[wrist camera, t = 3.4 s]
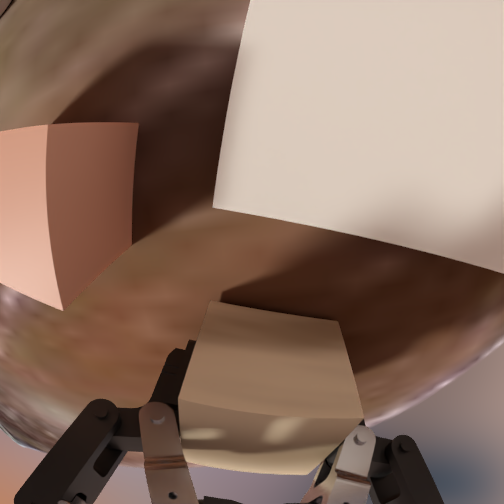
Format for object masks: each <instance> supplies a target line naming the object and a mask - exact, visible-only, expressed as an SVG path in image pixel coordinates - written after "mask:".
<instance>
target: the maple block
mask: <svg viewBox="0 0 504 504" xmlns="http://www.w3.org/2000/svg"><path fill="white" fill-rule="evenodd" d="M178 408H179V423H180V436H181V446H182V450H183V454H184V457H185V460H186V462H190V463H194V464H199V465H204V466H210V467H215V468H221V469H228V470H235V471H243V472H253V473H265V474H284V475H285V474H287V475H307V474H308V473H309V472H311V471H312V470H313V469H314V468H315V467H316V466H317V465H318V464H320V463H321V462H322V461H323V460H324V459H325V458H326V457H327V456H328V455H329V454H330V453H331V452H332V451H333V450H334V449H335V448H337V447H338V446H339V444H340V443H341V442H342V441H343V440H344V439H345V438H346V437H347V436H348V435H349V434H350V433H351V432H352V431H353V430H354V429H355V428H356V427H357V425H358V424H359V423H360V422H361V421H362V420H363V419H364V415H363V411H362V407H361V403H360V399H359V395H358V391H357V387H356V383H355V379H354V375H353V372H352V368H351V364H350V361H349V357H348V353H347V350H346V346H345V343H344V340H343V336H342V333H341V329H340V326H339V323H338V321H332V320H325V319H317V318H310V317H303V316H297V315H290V314H284V313H277V312H271V311H265V310H259V309H254V308H248V307H242V306H237V305H231V304H226V303H221V302H216V301H211V300H210V303H209V306H208V309H207V311H206V314H205V317H204V320H203V323H202V326H201V329H200V332H199V335H198V338H197V341H196V344H195V347H194V350H193V353H192V356H191V360H190V363H189V366H188V369H187V372H186V375H185V378H184V381H183V384H182V388H181V391H180V394H179V397H178Z"/></svg>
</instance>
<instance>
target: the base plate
mask: <svg viewBox="0 0 504 504" xmlns="http://www.w3.org/2000/svg"><path fill="white" fill-rule="evenodd" d="M213 208H219V209H224V210H230V211H236V212H242V213H247V214H253V215H258V216H264V217H269V218H274V219H280V220H285V221H290V222H295V223H300V224H305V225H310V226H315V227H320V228H324V229H329V230H334V231H338V232H343V233H348V234H352V235H357V236H361V237H366V238H370V239H374V240H379V241H383V242H387V243H391V244H395V245H400V246H404V247H408V248H412V249H416V250H420V251H424V252H428V253H432V254H435V255H439V256H443V257H447V258H451V259H454V260H458V261H462V262H465V263H469V264H472V265H476V266H479V267H483V268H486V269H490V270H493V271H497V272H500V273H503V274H504V0H251V1H250V5H249V9H248V13H247V17H246V21H245V26H244V30H243V35H242V39H241V44H240V48H239V53H238V58H237V63H236V67H235V72H234V78H233V83H232V88H231V93H230V99H229V104H228V110H227V115H226V121H225V127H224V133H223V139H222V145H221V151H220V158H219V164H218V171H217V178H216V185H215V192H214V200H213Z"/></svg>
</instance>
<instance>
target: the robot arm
mask: <svg viewBox="0 0 504 504" xmlns="http://www.w3.org/2000/svg"><path fill="white" fill-rule="evenodd" d="M195 344H196V341H194V340H189V341H188V344H187V347H186V350H182V349H178V348H176V349H174V350H173V351H172V352H171V353H170V354H169V355H168V357H167V359H166V362H165V365H164V367H163V369H162V373H161V374H160V377H159V379H158V381H157V384H156V386H155V389H154V392H153V394H152V397H151V399H150V400H149V402H148V403H147V404H145V405H144V406H142V407H139V408H117V407H116V406H115V405H114V404H113V403H112V402H111V401H109V400H106V399H96V400H93V401H91V402H90V403H89V404H88V405H87V406H86V408H85V409H84V410H83V411H82V412H81V413H80V415H79V416H78V417H77V418H76V419H75V421H74V422H73V423H72V424H71V426H70V427H69V428H68V429H67V430H66V432H65V433H64V434H63V435H62V437H61V438H60V439H59V440H58V441H57V443H56V444H55V445H54V446H53V448H52V449H51V450H50V451H49V453H48V454H47V455H46V456H45V458H44V459H43V460H42V461H41V463H40V464H39V465H38V467H37V468H36V469H35V470H34V472H33V473H32V474H31V475H30V477H29V478H28V479H27V481H26V482H25V483H24V485H23V486H22V487H21V488H20V490H19V491H18V492H17V494H16V495H15V498H14V504H93V503H94V502H95V500H96V499H97V497H98V495H99V494H100V492H101V491H102V489H103V488H104V486H105V485H106V483H107V482H108V480H109V479H110V477H111V476H112V474H113V473H114V471H115V470H116V468H117V467H118V465H119V464H120V462H121V461H122V459H123V457H124V456H125V454H126V453H127V451H136V452H143V453H144V459H145V462H144V468H145V474H146V479H147V484H148V489H149V493H150V498H151V502H152V504H242V503H239V502H236V501H233V500H227V499H220V498H214V497H208V496H204V499H203V500H198V499H197V496H196V493H195V490H194V487H193V483H192V480H191V476H190V473H189V469H188V466H187V463H186V460H185V457H184V454H183V450H182V446H181V442H180V423H179V408H178V397H179V394H180V391H181V388H182V384H183V381H184V378H185V375H186V372H187V369H188V366H189V363H190V360H191V356H192V353H193V350H194V347H195ZM368 494H370V497H371V500H372V502H373V504H444V502H443V500H442V498H441V496H440V493H439V491H438V489H437V487H436V485H435V482H434V480H433V478H432V476H431V474H430V472H429V470H428V467H427V465H426V463H425V461H424V459H423V457H422V455H421V453H420V451H419V449H418V447H417V445H416V443H415V441H414V440H413V439H412V438H411V437H409V436H406V435H399V436H397V437H396V438H394V439H393V440H390V439H385V438H380V437H377V436H375V435H374V433H373V431H372V430H371V429H369V428H368V427H366V426H365V422H364V419H363V420H362V421H361V422H360V423H359V424H358V425H357V427H356V428H355V429H354V430H353V431H352V432H351V433H350V434H349V435H348V436H347V437H346V438H345V439H344V440H343V441H342V442H341V443H340V444H339V446H338V447H337V448H335V449H334V450H333V451H332V452H331V453H330V454H329V455H328V456H327V457H326V458H325V459H324V460H323V461H322V462H321V464H320V466H319V468H318V471H317V473H316V476H315V478H314V480H313V482H312V485H311V487H310V489H309V490H308V492H307V493H306V494H305V495H304V497H303V498H302V500H301V502H300V503H293V504H366V501H367V497H368ZM286 504H290V503H286ZM291 504H292V503H291Z"/></svg>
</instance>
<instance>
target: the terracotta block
mask: <svg viewBox="0 0 504 504" xmlns="http://www.w3.org/2000/svg"><path fill="white" fill-rule="evenodd" d="M138 127H139V123H123V122H88V123H63V124H49V125H40V126H32V127H25V128H18V129H12V130H6V131H1V132H0V283H2V284H4V285H6V286H8V287H10V288H12V289H14V290H16V291H18V292H20V293H22V294H25V295H27V296H29V297H31V298H33V299H36V300H38V301H40V302H43V303H45V304H47V305H50V306H52V307H55V308H57V309H60V310H62V311H64V310H65V309H66V308H67V307H68V306H69V305H70V304H71V303H72V302H73V301H74V300H75V298H76V297H77V296H78V295H79V294H80V293H81V292H82V291H83V290H84V289H85V288H86V287H87V286H88V285H89V284H90V283H92V282H93V281H94V280H95V279H96V278H97V277H98V276H99V275H100V274H101V273H102V272H103V271H104V270H105V269H106V268H107V267H108V266H109V265H110V264H111V263H113V262H114V261H115V260H116V259H117V258H118V257H119V256H120V255H121V254H122V253H123V252H125V251H126V250H127V249H128V248H129V247H130V246H131V245H132V200H133V180H134V166H135V154H136V144H137V135H138Z"/></svg>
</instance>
